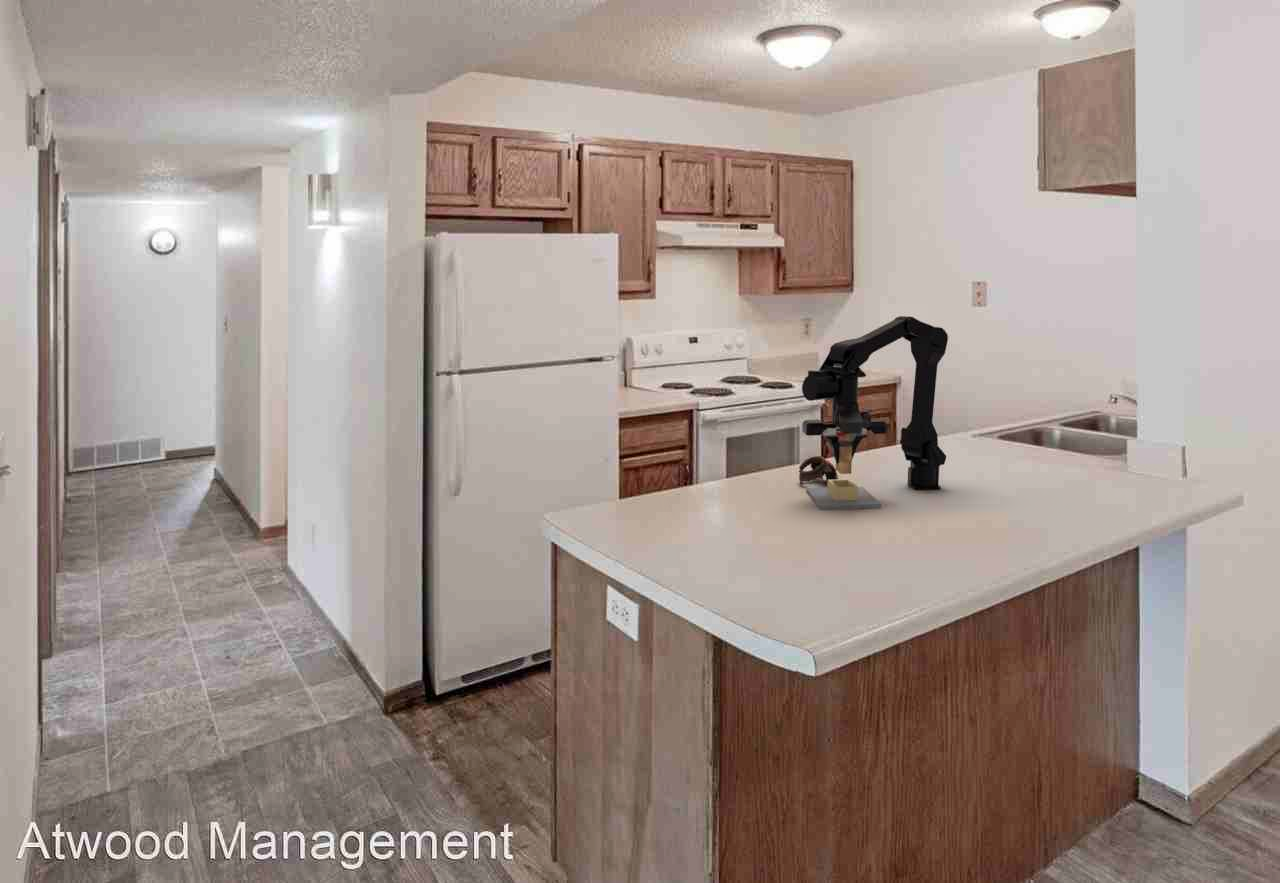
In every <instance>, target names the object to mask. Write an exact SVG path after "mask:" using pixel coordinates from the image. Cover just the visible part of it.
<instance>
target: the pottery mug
mask: <svg viewBox="0 0 1280 883" xmlns="http://www.w3.org/2000/svg"><path fill="white" fill-rule="evenodd" d="M809 465H810V468H811V470H805V469H806V468H807V467H808V466H809ZM798 473H799V475H798V476H799V477H798V479H799V483H800V484H801V485H803V482H811V481H815V480H817V479H822V480H823V479H824V476H825V478H826V479H825V480H826V481H828V480H837V479H839V476H838V474H837V470H836V467H835V466H834V464H833V463H832V462H830V461H829V460H826V458H825V457H824V456H821V455H815V456H811V457H809V458H806V459H805V460H804V461H803V462H801V464H800V465H799V470H798Z"/></svg>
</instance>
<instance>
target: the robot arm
mask: <svg viewBox="0 0 1280 883" xmlns="http://www.w3.org/2000/svg"><path fill="white" fill-rule="evenodd" d="M901 338H902V339H905V341H908V342H910V352H911V354H912V356H913V359H914V361H915V373H914V383H913V384H914V385H913V396H912V397H913V398H912V408H911V416H910V421H909V424H908V425H907V426H906V427H902V428H901V430H900V436H901V437H900V440H899V444H901V451H903V453H904V457H905V461H909V463H910V464H909V466H910V467H907V485H909V486H910V487H911V488H913V490H941V488H942V486H940V485H939V480H940V467H941V466H942V465H945V463H946V460H947V455H946V454H945V453H944V451H943V450H942V449H941V448H940V446H939V442H938V441H939V440H938V433H937V431H936V428H935V426H934V424H933V418H934V416H933V415H934V406H935V396H936V386H937V385H936V384H937V374H938V365H939V363H940V361H941V360H942V359H943V357H944V355H945V354H946V350H947V345H948V341H949V334H948V332H946V330H945V329H944V328H943V327H940V326H933V325H931V324H929V323H926V322H923V321H921V320H919V319H917V318H915V317H913V316H903V315H900V316H897V317H895V318H894V319H893V320H892V321H891V320H890V321H889V322H887V323H885V324H884V325H882V326H880V327H877V328H876V329H874V330H872V331H869V332H867V333H866V334H864V335H862V336H860V337H856V338H851V339H845V340H843V341H839V342H835V343H834V344H832V345H831V346H830V347H829V348H830V350H829V351H828V354H827V356H826V358H825V360H824V361H823V362H822V365H820V368H819V369H818V370H808V371H807V376H806V377H804V380H803V383H802V384H801V391H802V394H803V397H804V398H805V400H807V401H810V402H812V401H813V402H814V401H821V400H831V408H832V409H831V422H829V423H828V422H827V423H826V422H825V423H824V422H823V421H821V420H820V419H805V420H804V421H803V422H802V425H801V427H802V429H801V431H802V432H803V433H804V435H806V436H810V437H811V436H812V437H813V436H822V437H823V438H825V439H827V441H828V443H829V445H830V448H831V451H832V455H833V458H834V460H835V464H836V463H839V449H838V440H839V438H840V437H839V435H837V432H840V433H841V434H843V435H848V441H849V442H850V443H851V444H852V460H853V458H854V456H855V454H856V451H857V448H858V446H859V444H860V443H861V441H862V440H863V439H866V438H868V434H867V432H868V431H870V432H871V433H872V434H874V435H887V434H888V423H887V422H886V421H885V420H883V419H882V418H872V412H871V411H862V412H860V408H859V402H858V395H859V394H858V393H859V378H866V377H867V373H865V372H864V371H863V370H862V368H860V367H861V366H862V365H863V364H864V363H866V362H867V361H868V360H869V358H870V356H871V355H872V354H874V352H877V351H879V350H880V349H883V348H885V347H886V346H889V345H890V344H893V343H894V342H896V341H898V340H899V339H901Z"/></svg>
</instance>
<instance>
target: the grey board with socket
mask: <svg viewBox="0 0 1280 883" xmlns="http://www.w3.org/2000/svg"><path fill="white" fill-rule="evenodd" d="M826 481H827V480H826ZM826 485H827V486H826V487H807V488H805V490H806V491H805V493H806V494H807V495H808V496H809V498H810V497H811V498H810V499H811V500H812V501H813V503H814V502H815V503H814V504H815V505H816V507H819V508H818V509H819V510H853V509H854V510H855V509H856V510H857V509H859V510H860V509H862V510H863V508H864V509H882V503H881V502H880V501H879V499H877V498H875V497H874V496H873V495H872V494H871V493H870V492H869V491H868V490H867V489H866V488H865V487H864V486H858V485H857V484H855V482H854V481H853V480H851V479H849V478H847V479H846V478H843V479H839V478H838V479H837V480H828V481H827V484H826Z"/></svg>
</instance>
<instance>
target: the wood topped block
mask: <svg viewBox="0 0 1280 883" xmlns="http://www.w3.org/2000/svg"><path fill="white" fill-rule="evenodd" d="M838 449H839V463H836V462H835V469H836V472H838V473H839V474H840V475H847V474H848V475H849V474H850V475H851V474H852V467H853V465H852V461H853V459H852V444H851V443H850V442H849V440H847V439H841V440H839V439H838Z"/></svg>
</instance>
